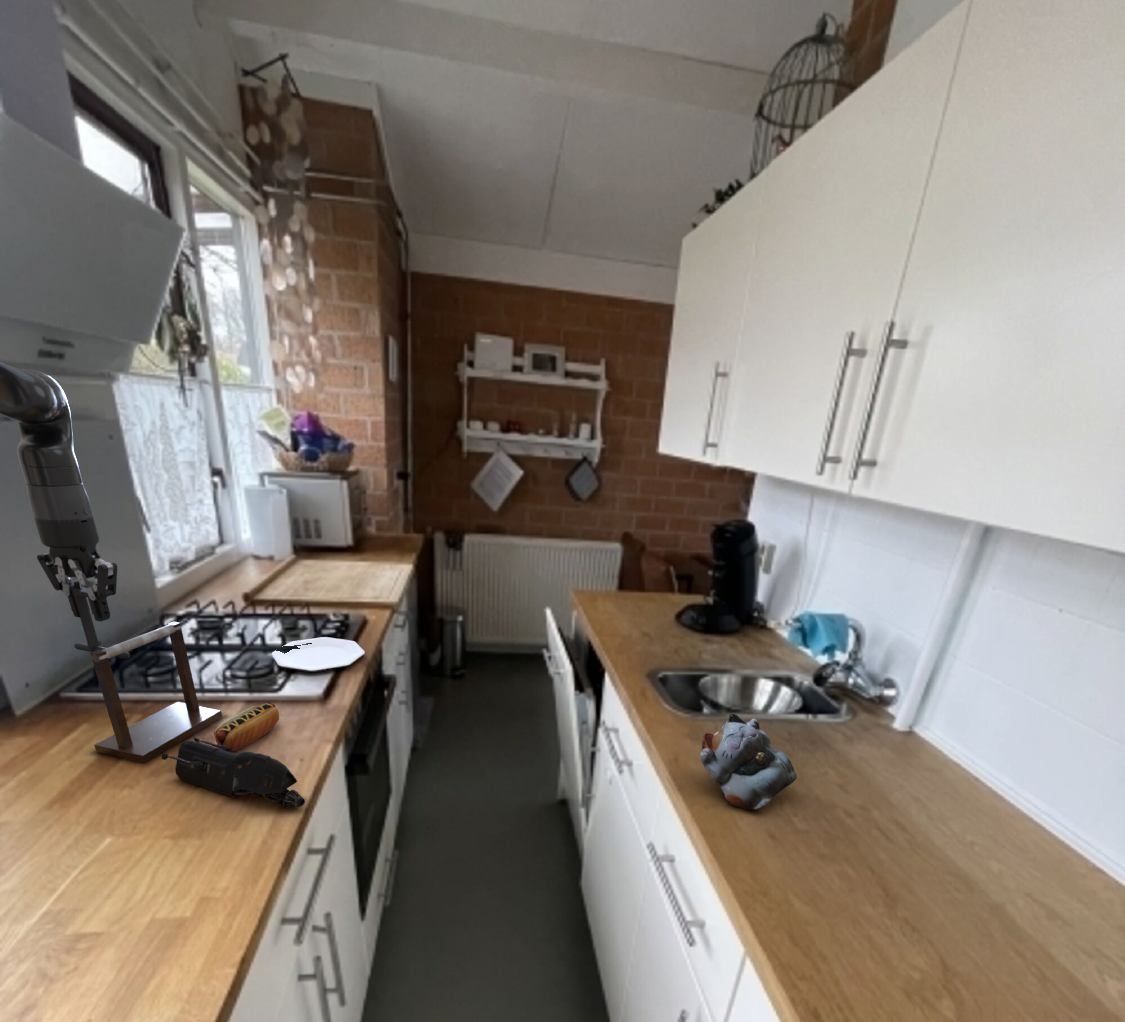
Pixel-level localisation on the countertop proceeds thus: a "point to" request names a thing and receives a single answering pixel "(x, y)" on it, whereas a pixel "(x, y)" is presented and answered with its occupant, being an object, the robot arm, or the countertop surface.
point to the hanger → (88, 623)
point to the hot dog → (247, 726)
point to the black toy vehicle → (235, 772)
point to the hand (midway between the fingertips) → (92, 617)
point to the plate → (319, 654)
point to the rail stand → (162, 726)
